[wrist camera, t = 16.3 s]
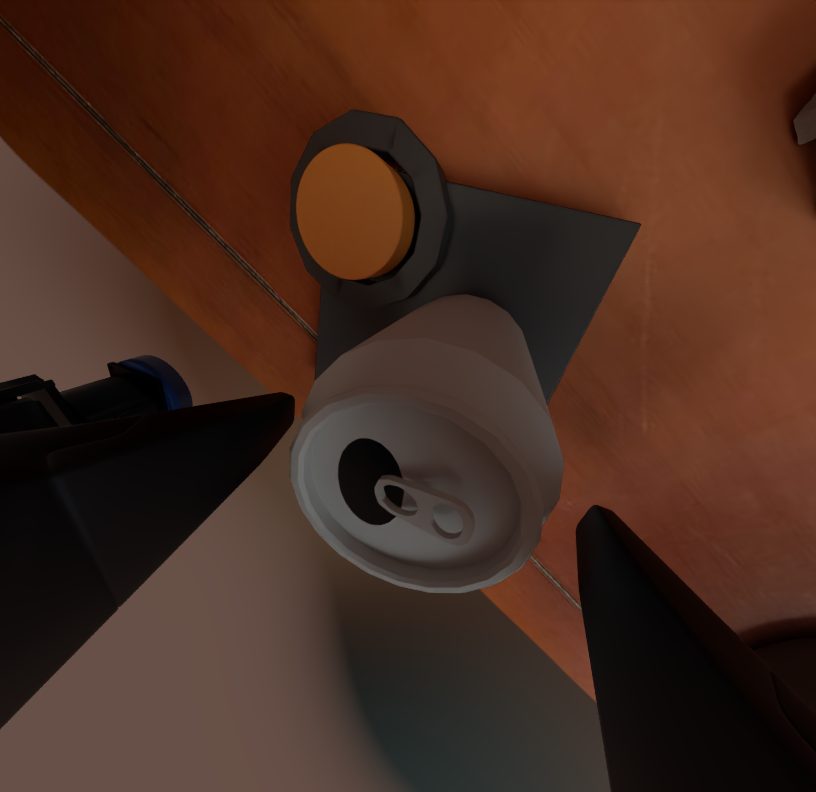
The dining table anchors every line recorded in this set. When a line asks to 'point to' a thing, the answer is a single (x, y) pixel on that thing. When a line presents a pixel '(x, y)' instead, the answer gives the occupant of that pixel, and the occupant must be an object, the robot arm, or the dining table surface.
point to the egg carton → (806, 122)
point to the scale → (468, 254)
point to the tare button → (354, 212)
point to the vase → (794, 666)
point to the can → (431, 450)
